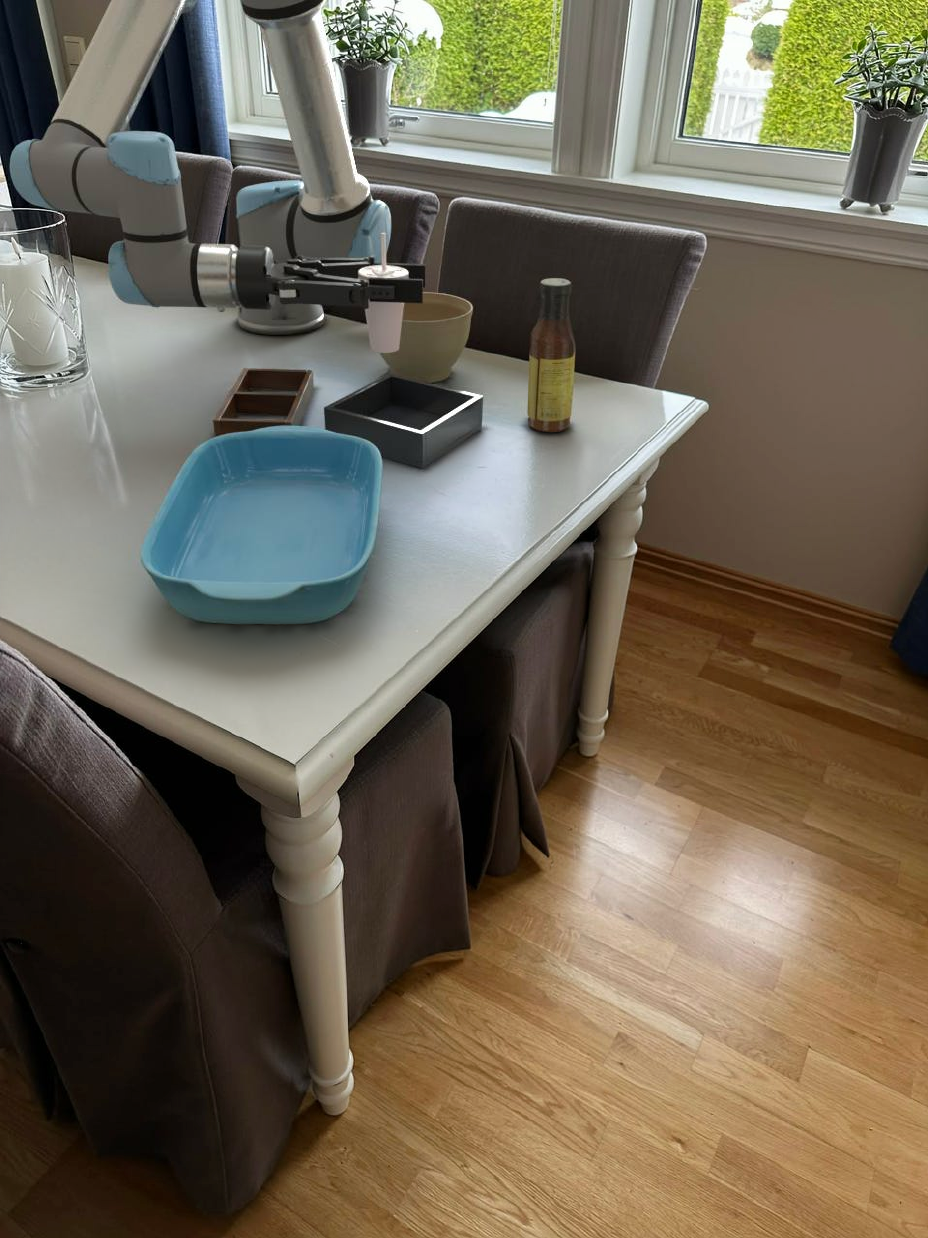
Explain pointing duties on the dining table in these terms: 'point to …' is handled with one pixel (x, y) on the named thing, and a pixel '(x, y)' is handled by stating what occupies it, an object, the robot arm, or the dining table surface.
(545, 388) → the sauce bottle
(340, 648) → the dining table surface
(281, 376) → the brown shallow wooden box
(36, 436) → the dining table surface
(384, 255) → the smoothie
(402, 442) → the dark grey square tray
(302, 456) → the casserole dish
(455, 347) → the planter bowl
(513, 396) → the dining table surface
